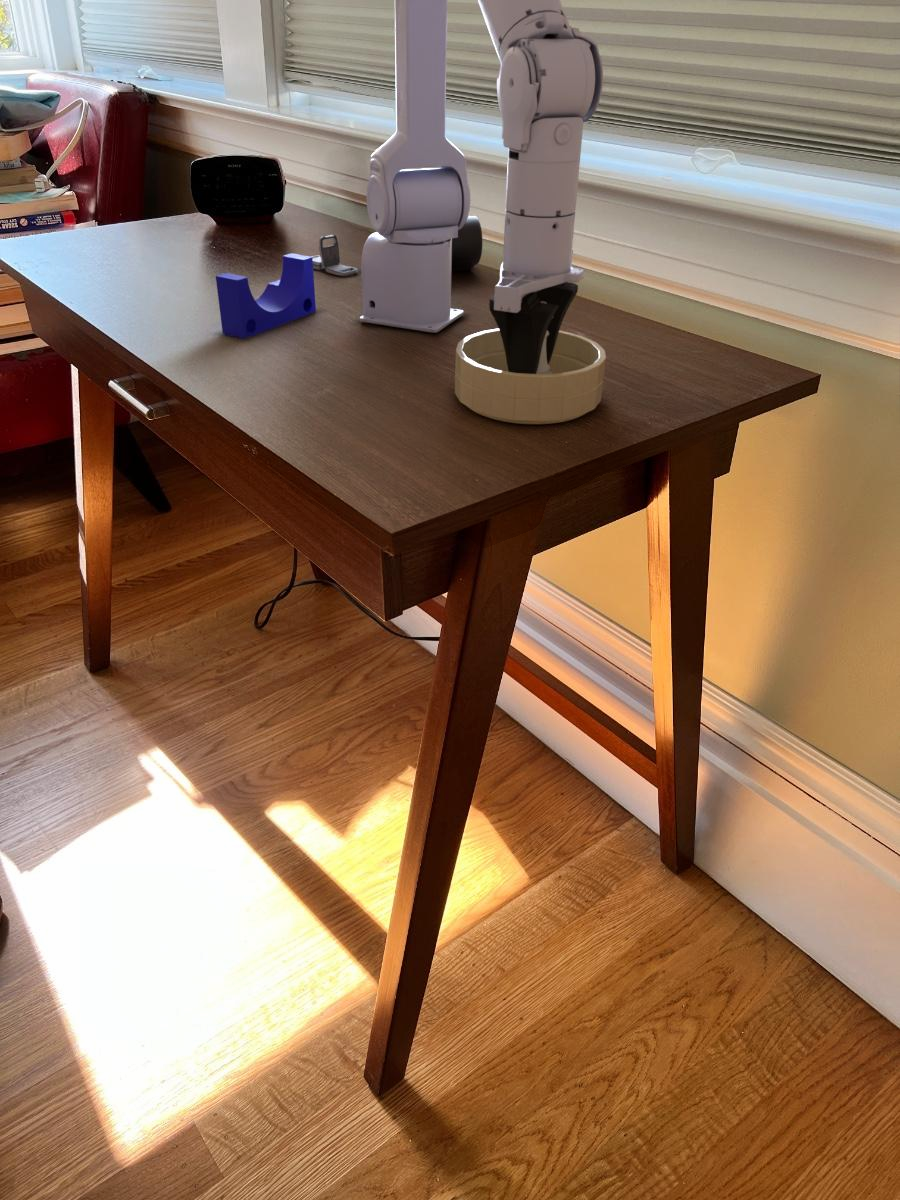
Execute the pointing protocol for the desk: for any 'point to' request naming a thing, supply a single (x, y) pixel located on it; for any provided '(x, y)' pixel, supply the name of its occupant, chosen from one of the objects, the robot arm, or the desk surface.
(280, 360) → the desk surface
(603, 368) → the pan
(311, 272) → the blue pipe saddle bracket
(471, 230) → the end cap
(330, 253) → the strap clip
